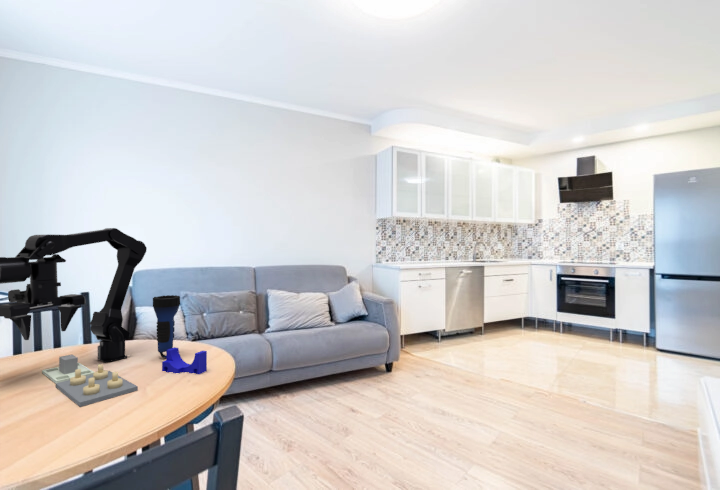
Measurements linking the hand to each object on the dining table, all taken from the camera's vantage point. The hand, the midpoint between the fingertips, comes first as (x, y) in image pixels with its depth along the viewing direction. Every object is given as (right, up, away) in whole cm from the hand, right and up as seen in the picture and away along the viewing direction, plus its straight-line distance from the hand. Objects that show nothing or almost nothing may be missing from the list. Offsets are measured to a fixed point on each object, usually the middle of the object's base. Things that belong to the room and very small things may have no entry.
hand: (45, 335), depth 101 cm
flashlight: (+24, -12, +17) cm, 32 cm away
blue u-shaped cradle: (+36, -12, +5) cm, 39 cm away
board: (+4, -12, +2) cm, 13 cm away
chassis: (+20, -12, -8) cm, 25 cm away
